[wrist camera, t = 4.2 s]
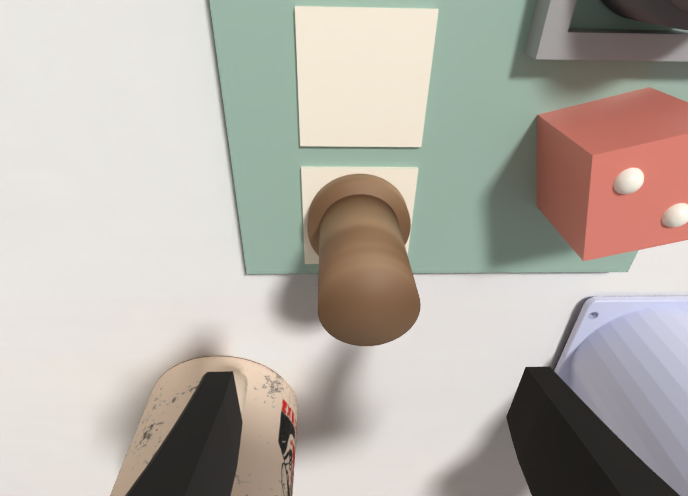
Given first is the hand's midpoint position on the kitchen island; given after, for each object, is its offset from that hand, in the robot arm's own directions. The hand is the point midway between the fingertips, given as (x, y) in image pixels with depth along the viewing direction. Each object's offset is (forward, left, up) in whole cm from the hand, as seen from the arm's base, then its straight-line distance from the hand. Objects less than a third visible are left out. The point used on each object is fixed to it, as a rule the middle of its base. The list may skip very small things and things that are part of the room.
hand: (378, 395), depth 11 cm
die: (+3, -9, -9) cm, 13 cm away
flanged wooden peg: (0, 0, -9) cm, 9 cm away
